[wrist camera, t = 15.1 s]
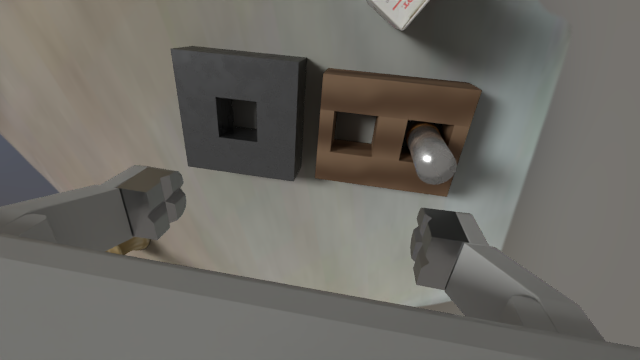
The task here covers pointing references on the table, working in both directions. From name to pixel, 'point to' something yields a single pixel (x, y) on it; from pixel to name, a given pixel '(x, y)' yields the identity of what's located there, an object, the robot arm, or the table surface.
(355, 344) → the robot arm
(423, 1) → the ink cartridge box
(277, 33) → the table surface
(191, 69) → the socket block
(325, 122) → the walnut rack
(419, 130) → the metal vial
